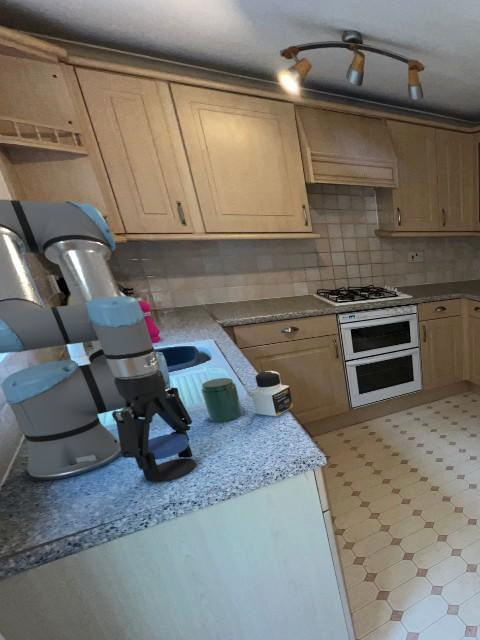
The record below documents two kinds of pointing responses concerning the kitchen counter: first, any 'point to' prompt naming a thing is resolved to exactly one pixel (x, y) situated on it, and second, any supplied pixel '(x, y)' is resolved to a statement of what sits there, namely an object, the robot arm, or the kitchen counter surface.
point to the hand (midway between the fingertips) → (170, 467)
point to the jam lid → (167, 445)
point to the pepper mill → (149, 321)
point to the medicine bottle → (271, 394)
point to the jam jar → (221, 399)
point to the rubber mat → (174, 469)
